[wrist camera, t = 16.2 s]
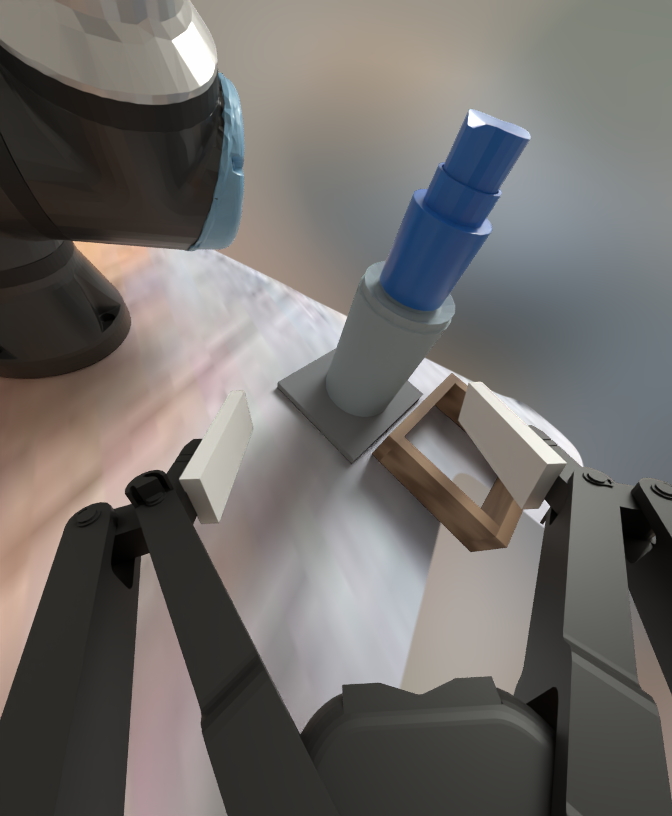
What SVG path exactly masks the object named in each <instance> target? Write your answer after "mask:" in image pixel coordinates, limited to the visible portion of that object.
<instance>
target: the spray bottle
mask: <svg viewBox="0 0 672 816" xmlns="http://www.w3.org/2000/svg"><path fill="white" fill-rule="evenodd" d="M529 140H530V133H529V132H528V131H527V130H525V129H523V128H521V127H519V126H517V125H515V124H512V123H509V122H505V121H501V120H499V119H497V118H495V117H493V116H490V115H487V114H485V113H483V112H480V111H477V110H473V109H469V111H468V113H467V115H466V117H465V119H464V122H463V124H462V126H461V128H460V130H459V133H458V135H457V137H456V139H455V141H454V144H453V146H452V148H451V150H450V152H449V155H448V157H447V159H446V162H442V163H439V165H438V167H437V170H436V172H435V174H434V176H433V179H432V181H431V183H430V185H429V188H428V189H419V190H416V191H415V192H414V194H413V196H412V199H411V201H410V203H409V206H408V209H407V211H406V213H405V216H404V218H403V221H402V223H401V226H400V228H399V231H398V233H397V236H396V238H395V240H394V243H393V245H392V247H391V250H390V252H389V255H388V257H387V260H386V261H382V262H378V263H374V264H373V265H371V266H370V267H368V268H367V271H366V273H365V275H363V276H362V278H361V280H360V283H359V285H358V288H357V291H356V294H355V297H354V300H353V302H352V305H351V308H350V311H349V314H348V317H347V320H346V322H345V325H344V328H343V331H342V334H341V337H340V340H339V343H338V345H337V348H336V351H335V354H334V357H333V360H332V363H331V365H330V368H329V371H328V374H327V377H326V389H327V392H328V395H329V397H330V398H331V400H332V401H333V402H334V403H335V405H336V406H338V407H339V408H340V409H342V410H343V411H345V412H347V413H349V414H352V415H354V416H360V417H370V416H376V415H378V414H379V413H381V412H383V411H384V410H385V409H386V407H387V406H388V405H389V403H390V402H391V401H392V400H393V398H394V397H395V396H396V394H397V393H398V392H399V390H400V389H401V388H402V386H403V385H404V384H405V382H406V381H407V380H408V379H409V377H410V376H411V375H412V373H413V372H414V371H415V369H416V368H417V367H418V365H419V364H420V363H421V361H422V360H423V359H424V357H425V356H426V355H427V354H428V352H429V351H430V350H431V348H432V347H433V346H434V344H435V343H436V342H437V340H438V339H439V338H440V336H441V335H442V334H443V333H444V331H445V330H446V328H447V327H448V326H449V324H450V323H451V318H452V316H453V315H454V314H455V303H454V301H453V298H452V296H451V294H450V292H451V291H452V289H453V288H454V286H455V285H456V283H457V282H458V280H459V279H460V277H461V276H462V275H463V273H464V271H465V270H466V269H467V267H468V266H469V264H470V263H471V261H472V260H473V258H474V257H475V255H476V254H477V252H478V251H479V249H480V248H481V247H482V245H483V243H484V242H485V241H486V239H487V238H488V236H489V235H490V233H491V232H492V225H491V223H490V222H489V220H488V219H487V217H488V215H489V213H490V212H491V210H492V209H493V207H494V206H495V204H496V202H497V201H498V199H499V198H500V196H501V195H502V193H501V190H500V187H501V185H502V184H503V182H504V181H505V179H506V177H507V176H508V174H509V173H510V171H511V169H512V168H513V166H514V165H515V163H516V161H517V160H518V158H519V156H520V155H521V153H522V152H523V150H524V148H525V147H526V145H527V144H528V142H529Z"/></svg>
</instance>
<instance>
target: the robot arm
mask: <svg viewBox="0 0 672 816" xmlns="http://www.w3.org/2000/svg"><path fill="white" fill-rule="evenodd" d="M243 162H244V129H243V119H242V111H241V106H240V100H239V96H238V93H237V90H236V88H235V87H234V85H233V83H232V82H231V81H230V80H229V79H227V78H225V77H224V75H223V74H222V73H218V63H217V51H216V47H215V43H214V40H213V38H212V36H211V33H210V32H209V30H208V28H207V26H206V25H205V23H204V21H203V20H202V18H201V17H200V15H199V14H198V12H197V11H196V9H195V7H194V6H193V4H192V3H191V1H190V0H0V376H2V377H10V378H38V377H48V376H54V375H59V374H64V373H68V372H71V371H75V370H78V369H81V368H83V367H86V366H88V365H91V364H93V363H95V362H97V361H99V360H101V359H102V358H104V357H106V356H107V355H109V354H110V353H111V352H113V351H114V350H115V349H116V348H117V347H118V346H119V345H120V344H121V343H122V342H123V341H124V339H125V338H126V336H127V334H128V332H129V330H130V326H131V317H130V313H129V311H128V308H127V306H126V304H125V302H124V300H123V298H122V296H121V295H120V293H119V292H118V290H117V289H116V288H115V287H114V286H113V285H112V284H111V283H110V282H109V281H108V280H107V279H106V278H105V276H104V275H103V274H102V273H101V272H100V271H99V270H98V269H97V268H96V267H95V266H94V265H93V264H92V263H91V262H90V261H89V260H88V259H87V258H86V257H85V256H84V255H83V254H82V253H81V252H80V251H79V250H78V249H77V248H76V246H75V245H74V243H73V241H81V242H94V243H106V244H118V245H130V246H143V247H155V248H167V249H179V250H185V251H195V250H197V249H223V248H226V247H228V246H229V245H230V244H231V243H232V242H233V241H234V239H235V237H236V235H237V232H238V229H239V225H240V219H241V213H242V204H243V193H244V174H243V170H242V167H243ZM458 421H459V422H460V424H461V425H462V427H463V428H464V429H465V431H466V432H467V434H468V435H469V436H470V438H471V439H472V441H473V442H474V444H475V445H476V446H477V448H478V449H479V451H480V452H481V453H482V455H483V456H484V458H485V459H486V460H487V462H488V463H489V465H490V466H491V467H492V469H493V470H494V472H495V473H496V474H497V476H498V477H499V479H500V480H501V481H502V483H503V484H504V486H505V487H506V488H507V490H508V491H509V493H510V494H511V495H512V497H513V498H514V500H515V501H516V503H517V504H518V505H519V507H520V508H521V509H539V507H540V506H541V504H542V502H543V501H544V499H545V500H546V502H547V503H548V504H549V505H550V506H551V507H550V508H549V510H548V511H547V513H546V514H545V516H544V517H543V519H542V520H541V522H540V523H541V524H543V523H544V522H545V521H546V522H545V529H544V536H543V542H542V549H541V555H540V563H539V569H538V576H537V582H536V588H535V595H534V602H533V608H532V615H531V621H530V628H529V635H528V641H527V648H526V655H525V661H524V667H523V671H522V675H521V677H520V679H519V681H518V684H517V686H516V689H515V692H514V696H513V695H511V694H510V693H508V692H505V691H503V690H501V689H499V688H496V687H495V684H494V681H493V679H492V677H491V676H490V677H471V678H455V679H453V680H451V681H449V682H447V683H445V684H443V685H441V686H439V687H437V688H435V689H433V690H431V691H429V692H427V693H425V694H421V695H418V694H414V693H411V692H408V691H404V690H401V689H398V688H395V687H391V686H388V685H385V684H382V683H367V684H350V685H342V690H343V695H342V694H340V695H338V696H336V697H334V698H332V699H331V700H329V701H328V702H326V703H325V704H324V705H323V706H322V707H321V708H320V709H319V710H318V711H317V712H316V713H315V714H314V715H313V717H312V718H311V719H310V720H309V722H308V723H307V725H306V726H305V728H304V729H303V731H302V733H301V735H300V733H299V731H298V729H297V727H296V725H295V723H294V721H293V719H292V718H291V716H290V714H289V712H288V710H287V708H286V706H285V704H284V702H283V700H282V698H281V696H280V694H279V692H278V690H277V688H276V686H275V685H274V683H273V681H272V679H271V677H270V675H269V673H268V671H267V669H266V667H265V665H264V663H263V661H262V659H261V657H260V655H259V653H258V651H257V649H256V647H255V645H254V643H253V641H252V639H251V638H250V636H249V634H248V632H247V630H246V628H245V626H244V624H243V622H242V620H241V618H240V616H239V614H238V612H237V610H236V608H235V606H234V604H233V602H232V600H231V598H230V596H229V594H228V592H227V590H226V589H225V587H224V585H223V583H222V581H221V579H220V577H219V575H218V573H217V571H216V569H215V567H214V565H213V563H212V561H211V559H210V557H209V555H208V553H207V551H206V549H205V547H204V545H203V543H202V541H201V540H200V538H199V536H198V534H197V532H196V530H195V528H194V526H193V523H194V521H195V519H196V517H198V519H199V521H200V523H201V524H211V523H219V522H220V519H221V516H222V514H223V511H224V508H225V505H226V503H227V500H228V497H229V494H230V492H231V489H232V486H233V483H234V481H235V478H236V475H237V472H238V469H239V467H240V464H241V461H242V458H243V456H244V453H245V450H246V447H247V445H248V442H249V439H250V436H251V433H252V431H253V425H252V420H251V416H250V412H249V408H248V404H247V400H246V395H245V391H244V390H243V391H231V392H230V393H229V395H228V397H227V399H226V400H225V402H224V404H223V405H222V407H221V409H220V410H219V412H218V414H217V416H216V417H215V419H214V421H213V422H212V424H211V426H210V428H209V429H208V431H207V433H206V434H205V436H204V438H203V439H193V440H192V441H190V442H189V443H188V444H187V445H186V446H184V448H183V449H182V451H181V452H180V454H179V456H178V457H177V459H176V460H175V463H173V465H172V466H171V468H170V469H169V471H168V472H167V474H166V473H165V472H163V471H160V470H153V471H148V472H145V473H143V474H141V475H139V476H137V477H135V478H134V479H133V480H132V481H131V482H130V483H129V484H128V485H127V487H126V489H125V494H126V496H127V497H128V499H129V500H130V502H131V503H132V504H130V505H126V506H123V507H119V508H116V509H113V508H112V507H111V505H109V504H108V503H104V502H99V503H95V504H91V505H89V506H87V507H85V508H83V509H81V510H80V511H78V512H77V513H75V514H74V515H73V516H72V517H71V518H70V519H69V521H68V522H67V524H66V526H65V528H64V531H63V534H62V537H61V540H60V543H59V546H58V549H57V552H56V555H55V558H54V561H53V564H52V567H51V570H50V573H49V576H48V579H47V582H46V585H45V588H44V591H43V594H42V597H41V600H40V603H39V606H38V609H37V612H36V615H35V618H34V621H33V624H32V627H31V630H30V633H29V636H28V639H27V642H26V645H25V648H24V651H23V654H22V657H21V660H20V663H19V666H18V669H17V672H16V675H15V678H14V681H13V684H12V686H11V689H10V692H9V695H8V698H7V701H6V704H5V707H4V710H3V713H2V716H1V719H0V816H124V803H125V788H126V773H127V758H128V743H129V728H130V713H131V699H132V684H133V669H134V654H135V639H136V624H137V609H138V594H139V579H140V564H141V556H142V555H145V554H148V553H150V555H151V559H152V562H153V565H154V568H155V571H156V574H157V577H158V580H159V583H160V586H161V589H162V592H163V595H164V598H165V601H166V604H167V608H168V611H169V614H170V617H171V620H172V623H173V626H174V629H175V632H176V635H177V638H178V641H179V644H180V647H181V650H182V654H183V657H184V660H185V663H186V666H187V669H188V672H189V675H190V678H191V681H192V684H193V687H194V690H195V693H196V696H197V699H198V703H199V706H200V709H201V715H202V717H201V728H202V734H203V737H204V741H205V745H206V748H207V751H208V755H209V758H210V761H211V764H212V767H213V771H214V774H215V777H216V780H217V783H218V787H219V790H220V793H221V796H222V799H223V803H224V806H225V809H226V812H227V815H228V816H672V800H671V792H670V785H669V778H668V771H667V764H666V757H665V750H664V743H663V736H662V729H661V721H660V716H659V712H658V708H657V705H656V703H655V702H654V700H653V698H652V697H651V696H650V695H649V694H647V693H646V692H645V691H643V690H642V689H641V687H640V685H639V683H638V678H637V669H636V660H635V650H634V640H633V631H632V621H631V611H630V601H629V592H628V588H629V591H630V593H631V596H632V598H633V601H634V603H635V605H636V608H637V610H638V613H639V615H640V618H641V620H642V623H643V625H644V628H645V630H646V633H647V635H648V637H649V640H650V642H651V645H652V647H653V650H654V652H655V655H656V657H657V660H658V662H659V664H660V667H661V669H662V672H663V674H664V677H665V679H666V682H667V684H668V687H669V689H670V692H671V694H672V485H671V484H668V483H667V482H664V481H660V480H657V479H653V478H642V479H641V480H640V481H639V482H638V483H637V484H636V486H632V485H626V484H621V483H615V481H614V480H613V479H611V478H610V477H609V476H607V475H606V474H604V473H603V472H600V471H598V470H596V469H593V468H589V467H581V466H580V465H579V464H578V463H577V462H576V461H575V460H574V459H573V458H571V457H570V456H569V455H568V454H567V453H566V452H565V451H564V450H563V449H562V448H560V447H559V446H557V444H556V443H555V442H554V441H553V440H551V438H549V437H548V436H547V435H546V434H545V433H544V432H543V431H541V430H539V429H538V428H536V427H534V426H532V425H526V424H525V423H524V422H523V421H522V420H521V419H520V418H519V417H518V416H517V415H516V414H515V413H514V412H513V411H512V410H511V409H510V408H509V407H508V406H506V405H505V404H504V403H503V402H502V401H501V400H500V399H499V398H498V397H497V396H496V395H495V394H494V393H493V392H492V391H491V390H490V389H489V388H488V387H486V386H485V385H484V384H483V383H482V382H469V383H468V387H467V391H466V394H465V398H464V401H463V405H462V408H461V412H460V415H459V419H458ZM654 536H656V539H655V538H654Z"/></svg>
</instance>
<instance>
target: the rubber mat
mask: <svg viewBox="0 0 672 816" xmlns="http://www.w3.org/2000/svg"><path fill="white" fill-rule="evenodd" d="M335 351H336V349H334V350H332V351H331V352H329V353H327V354H325V355H324V356H322V357H320V358H319V359H317V360H315V361H313V362H312V363H310V364H308V365H307V366H305V367H303V368H301V369H300V370H298V371H296V372H295V373H293V374H291V375H289V376H288V377H286V378H284V379H283V380H281V381H279V382H278V388H279V389H280V390H281V391H282V392H283V393H284V394H285V395H286V396H287V397H288V398H289V399H290V400H291V401H292V403H293V404H294V405H295V406H296V407H297V408H298V409H299V410H300V411H301V412H302V413H303V414H304V415H305V416H306V417H307V418H308V419H309V420H310V421H311V422H312V423H313V424H314V425H315V426H316V427H317V428H318V429H319V430H320V431H321V432H322V433H323V434H324V436H325V437H326V438H327V439H328V440H329V441H330V442H331V443H332V444H333V445H334V446H335V447H336V448H337V449H338V450H339V451H340V452H341V453H342V454H343V455H344V456H345V457H346V458H347V459H348V460H349V461H350V462H351V463H353V462H354V461H355V460H356V459H357V458H358V457H359V456H360V455H361V454H362V453H363V452H364V451H365V450H366V449H367V448H368V447H369V446H370V445H371V444H372V443H373V442H375V441H376V440H377V439H378V438H379V437H380V436H381V435H382V434H383V433H384V432H385V431H386V430H387V429H388V428H389V427H390V426H391V425H392V424H393V423H394V422H395V421H396V420H397V419H398V418H399V417H400V416H402V415H403V414H404V413H405V412H406V411H407V410H408V409H409V408H410V407H411V406H412V405H413V404H414V403H415V402H416V401H417V400H418V399H419V398H420V397H421V396H422V395H423V394H422V393H421V392H420V391H419V390H418V389H417V388H416V387H414V386H413V385H412V384H411V383H410V382H409V381H408V380H407V381H406V382H405V384H404V385H403V386H402V388H401V389H400V390H399V392H398V393H397V394H396V396H395V397H394V398H393V400H392V401H391V402H390V403H389V405H388V406H387V407H386V409H385V410H384V411H383V412H381V413H379V414H378V415H376V416H370V417H360V416H354V415H352V414H349V413H347V412H345V411H343V410H342V409H340V408H339V407H338V406H336V405H335V403H334V402H333V401H332V400H331V398H330V397H329V395H328V392H327V389H326V377H327V374H328V371H329V368H330V365H331V363H332V360H333V357H334V354H335Z"/></svg>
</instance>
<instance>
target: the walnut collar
mask: <svg viewBox="0 0 672 816" xmlns="http://www.w3.org/2000/svg"><path fill="white" fill-rule="evenodd" d="M467 387H468V386H467V385H466V384H465V383H464V382H462V381H461V380H460V379H459V378H457V377H456V376H455V375H454V374H453V373H451V374H450V375H449V376H448V377H447V378H446V379H445V380H444V381H443V382H442V383H441V384H440V385H439V386H438V387H437V388H436V389H435V390H434V391H433V392H432V393H431V394H430V395H429V396H428V397H427V398H426V399H425V400H424V401H423V402H422V403H421V404H420V405H419V406H418V407H417V408H416V409H415V410H414V411H413V412H412V413H411V414H410V415H409V416H408V417H407V418H406V419H405V420H404V421H403V422H402V423H401V424H400V425H399V426H398V427H397V428H396V429H395V430H394V431H393V432H392V433H391V434H390V435H389V436H388V437H387V438H386V439H385V440H384V441H383V442H382V443H381V444H380V445H379V446H378V448H377V449H376V450H375V451H374V452H373V453H372V454H373V455H374V456H375V457H376V458H377V459H378V460H379V461H380V462H381V463H382V464H383V465H384V466H385V467H386V468H387V469H388V470H389V471H390V472H391V473H392V474H393V475H394V476H395V477H396V478H397V479H398V480H399V481H400V482H401V483H402V484H403V485H404V486H405V487H406V488H407V489H408V490H409V491H410V492H411V493H412V494H413V495H414V496H415V497H416V498H417V499H418V500H419V501H420V502H421V503H422V504H423V505H424V506H425V507H426V508H427V509H428V510H429V511H430V512H431V513H432V514H433V515H434V516H435V517H436V518H437V519H438V520H439V521H440V522H441V523H442V524H443V525H444V526H445V527H446V528H447V529H448V530H449V531H450V532H451V533H452V534H453V535H454V536H455V537H456V538H457V539H458V540H459V541H460V542H461V543H462V544H463V545H464V546H465V547H466V548H467V549H468V550H469V551H470V552H475V551H483V550H491V549H499V548H507V546H508V544H509V542H510V539H511V537H512V535H513V532H514V530H515V528H516V525H517V523H518V521H519V518H520V516H521V514H522V511H523V509H521V508H520V507H519V505H518V504H517V503H516V501H515V500H514V498H513V497H512V495H511V494H510V493H509V491H508V490H507V488H506V487H505V486H504V484H503V483H502V481H501V480H500V479H499V477H498V478H497V479H496V481H495V483H494V485H493V487H492V489H491V490H490V492H489V494H488V496H487V498H486V499H485V501H484V503H483V505H482V507H481V508H480V507H478V506H477V505H476V504H475V503H474V502H473V501H472V500H471V499H470V498H469V497H468V496H467V495H466V494H465V493H464V492H463V491H461V490H460V489H459V488H458V487H457V486H456V485H455V484H454V483H453V482H452V481H451V480H450V479H449V478H448V477H447V476H446V475H444V474H443V473H442V472H441V471H440V470H439V469H438V468H437V467H436V466H435V465H434V464H433V463H432V462H431V461H430V460H428V459H427V458H426V457H425V456H424V455H423V454H422V453H421V452H420V451H419V450H418V449H417V448H416V447H415V446H414V445H413V444H411V443H410V442H409V441H408V440H407V439H406V438H405V437H404V436H405V435H406V434H407V433H408V432H409V431H410V430H411V429H412V428H413V427H414V426H415V425H416V424H417V423H418V422H419V421H420V420H421V419H422V418H423V416H424V415H425V414H426V413H427V412H428V411H429V410H430V409H431V408H432V407H433V406H434V405H435V406H437V407H438V408H439V409H440V410H441V411H442V412H443V413H445V414H446V415H447V416H448V417H449V418H450V419H451V420H453V421H454V422H455V423H456V424H457V425H458V426H460V427H461V428H462V429H463V430H464V431H465V429H464V428H463V427H462V425H461V424H460V422H459V421H458V419H459V415H460V412H461V408H462V405H463V401H464V398H465V394H466V391H467ZM465 432H466V431H465ZM466 433H467V432H466Z"/></svg>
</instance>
